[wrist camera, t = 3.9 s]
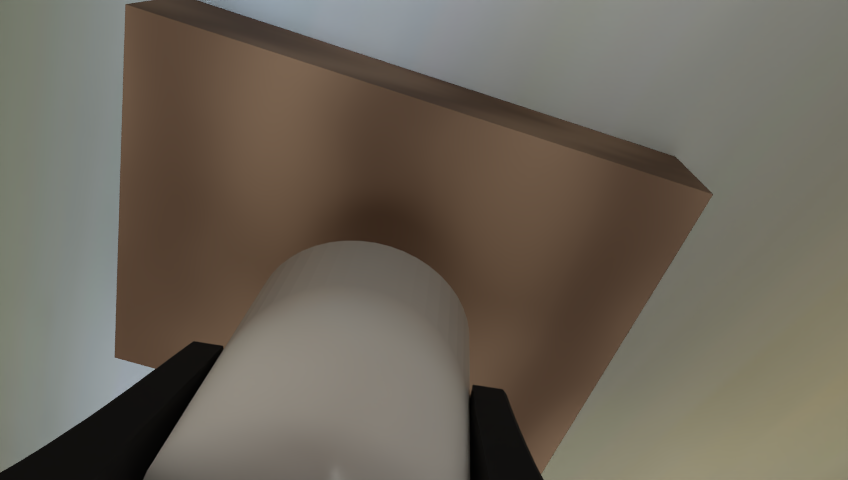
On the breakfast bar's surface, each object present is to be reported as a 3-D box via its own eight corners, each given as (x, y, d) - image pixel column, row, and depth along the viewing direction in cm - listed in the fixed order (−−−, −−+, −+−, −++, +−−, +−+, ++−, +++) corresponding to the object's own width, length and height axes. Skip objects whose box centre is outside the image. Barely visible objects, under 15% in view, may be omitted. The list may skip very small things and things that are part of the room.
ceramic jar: (491, 264, 11) (506, 454, 7) (447, 431, 14) (437, 654, 9) (258, 221, 11) (124, 386, 7) (252, 396, 14) (149, 605, 9)
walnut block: (671, 152, 18) (713, 194, 15) (531, 406, 23) (540, 475, 20) (189, -6, 17) (125, 4, 14) (164, 301, 22) (114, 357, 19)
